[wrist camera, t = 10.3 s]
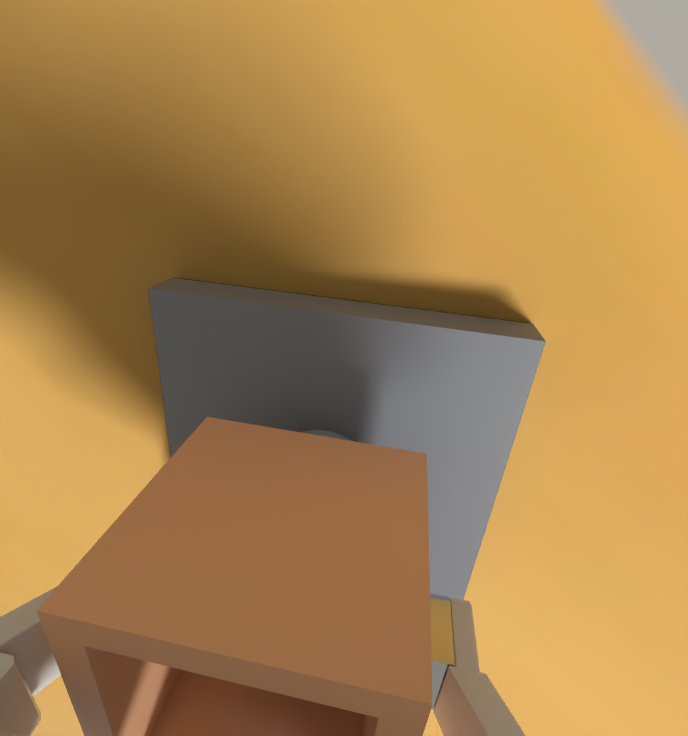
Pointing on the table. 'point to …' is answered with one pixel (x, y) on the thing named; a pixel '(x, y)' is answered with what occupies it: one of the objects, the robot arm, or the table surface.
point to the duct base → (357, 388)
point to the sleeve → (255, 594)
